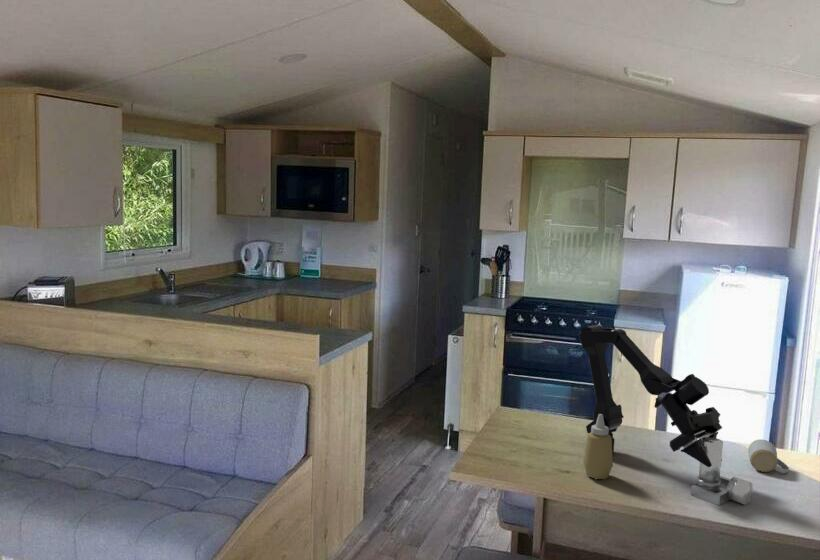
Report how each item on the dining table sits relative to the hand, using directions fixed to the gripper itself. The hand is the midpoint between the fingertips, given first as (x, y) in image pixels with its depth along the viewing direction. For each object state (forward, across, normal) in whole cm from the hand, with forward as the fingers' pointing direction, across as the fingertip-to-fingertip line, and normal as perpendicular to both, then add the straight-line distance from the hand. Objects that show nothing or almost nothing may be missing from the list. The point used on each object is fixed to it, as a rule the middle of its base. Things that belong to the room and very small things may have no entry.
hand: (715, 464), depth 181 cm
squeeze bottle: (-12, -17, +24) cm, 31 cm away
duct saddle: (+8, 0, +3) cm, 9 cm away
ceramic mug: (+7, +29, +4) cm, 30 cm away
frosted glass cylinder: (+4, 0, +6) cm, 7 cm away
